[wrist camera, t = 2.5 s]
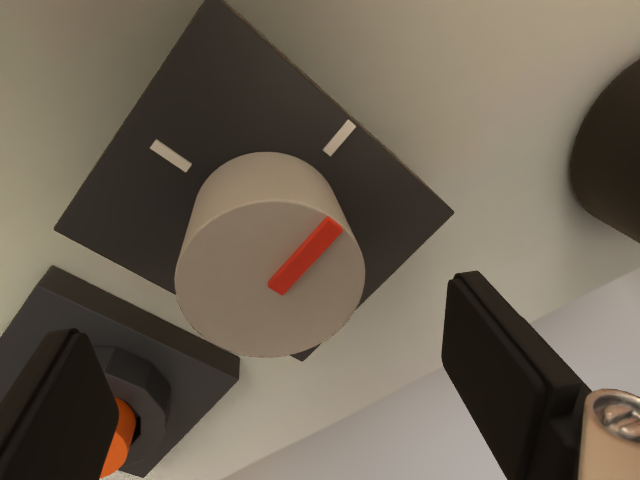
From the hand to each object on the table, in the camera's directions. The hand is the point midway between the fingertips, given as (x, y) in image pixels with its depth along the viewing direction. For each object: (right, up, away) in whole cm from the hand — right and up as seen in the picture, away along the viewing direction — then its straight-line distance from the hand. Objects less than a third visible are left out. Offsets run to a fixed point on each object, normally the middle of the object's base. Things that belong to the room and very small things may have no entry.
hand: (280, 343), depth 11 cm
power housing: (-11, -5, +13) cm, 18 cm away
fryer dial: (-1, +3, +5) cm, 6 cm away
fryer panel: (-2, +5, +9) cm, 10 cm away
